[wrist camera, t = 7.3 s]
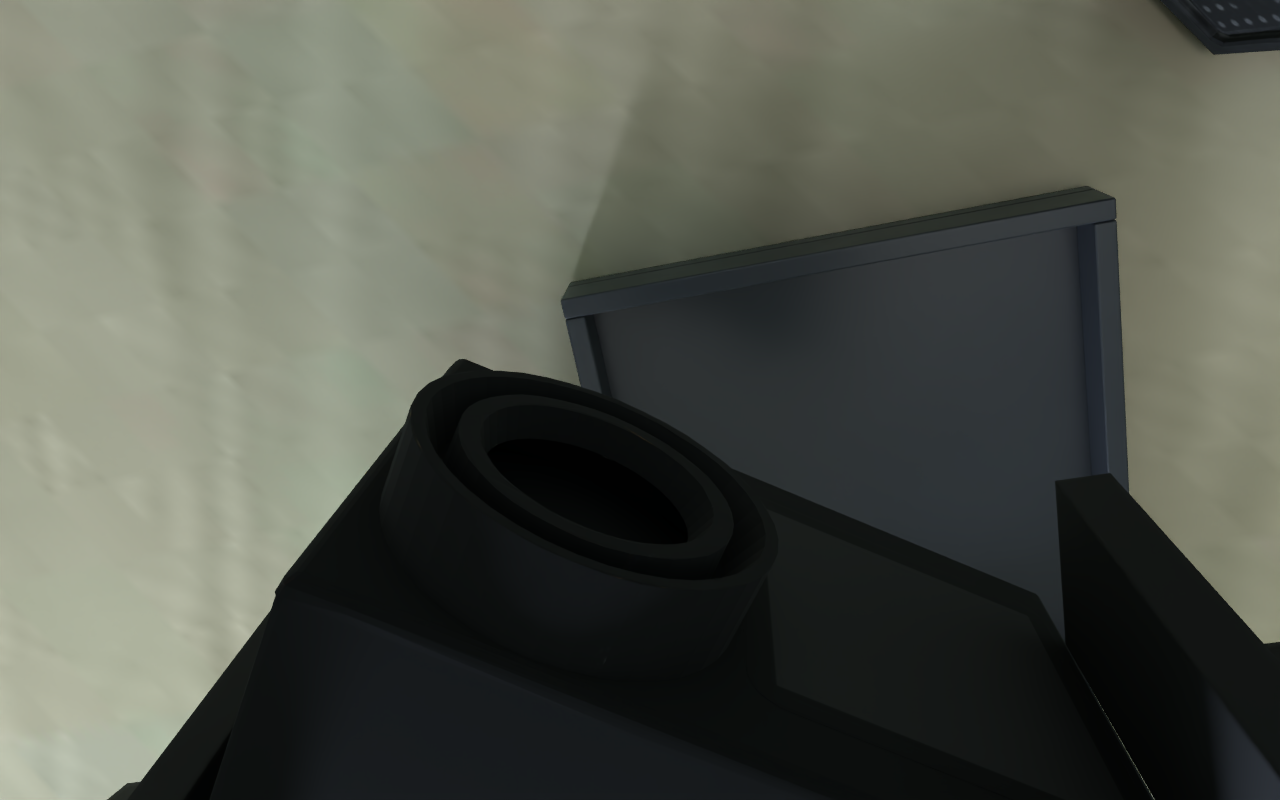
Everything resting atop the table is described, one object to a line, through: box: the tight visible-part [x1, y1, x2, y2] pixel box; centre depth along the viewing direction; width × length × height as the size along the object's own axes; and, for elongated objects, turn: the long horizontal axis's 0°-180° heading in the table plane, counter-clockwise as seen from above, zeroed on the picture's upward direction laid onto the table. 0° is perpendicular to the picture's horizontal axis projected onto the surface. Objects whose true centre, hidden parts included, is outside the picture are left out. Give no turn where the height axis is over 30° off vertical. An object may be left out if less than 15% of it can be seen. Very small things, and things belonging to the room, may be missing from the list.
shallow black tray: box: [561, 186, 1129, 681], centre depth 31 cm, size 15×15×2 cm
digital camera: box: [209, 359, 1154, 800], centre depth 14 cm, size 10×5×7 cm, turn 68°
